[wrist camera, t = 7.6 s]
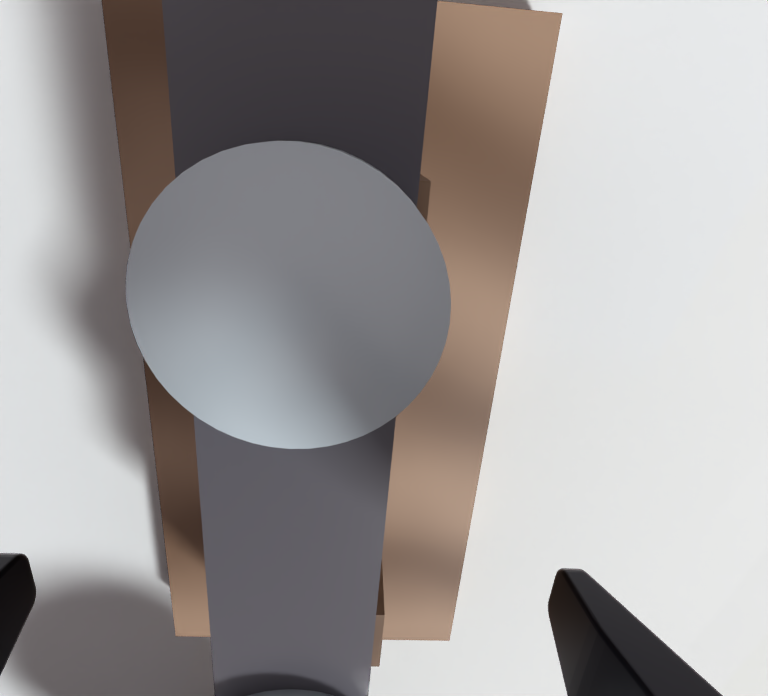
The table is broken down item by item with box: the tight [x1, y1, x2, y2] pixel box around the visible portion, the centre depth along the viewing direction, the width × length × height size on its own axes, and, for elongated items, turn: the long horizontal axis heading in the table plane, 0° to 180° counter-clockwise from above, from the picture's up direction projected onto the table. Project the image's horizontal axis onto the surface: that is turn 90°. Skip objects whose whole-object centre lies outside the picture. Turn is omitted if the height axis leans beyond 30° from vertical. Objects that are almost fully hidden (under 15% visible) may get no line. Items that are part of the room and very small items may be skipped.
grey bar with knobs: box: [126, 0, 451, 696], centre depth 11 cm, size 18×4×5 cm, turn 176°
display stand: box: [102, 0, 562, 666], centre depth 14 cm, size 20×10×5 cm, turn 176°
